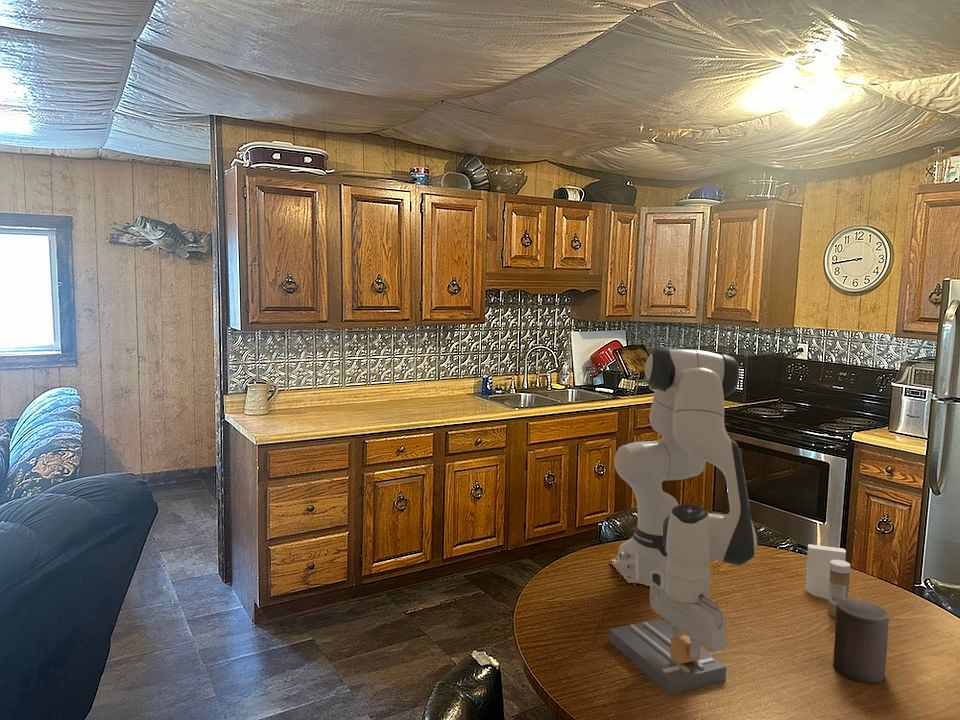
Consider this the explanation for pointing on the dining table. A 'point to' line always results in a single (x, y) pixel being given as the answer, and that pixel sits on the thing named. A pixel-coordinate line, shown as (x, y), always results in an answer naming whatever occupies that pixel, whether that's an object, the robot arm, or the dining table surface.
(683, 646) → the fader tab
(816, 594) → the base with upright slab
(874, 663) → the pillar candle
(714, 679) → the fader console
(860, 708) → the dining table surface
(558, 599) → the dining table surface
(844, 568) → the sprinkles bottle
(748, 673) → the dining table surface
